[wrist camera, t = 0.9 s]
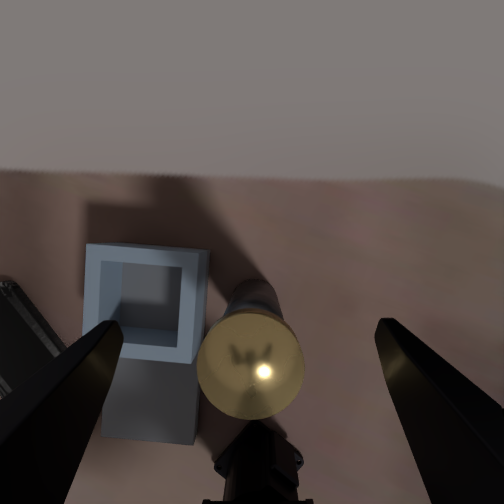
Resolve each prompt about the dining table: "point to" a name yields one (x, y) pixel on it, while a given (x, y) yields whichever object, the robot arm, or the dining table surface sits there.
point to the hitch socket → (150, 336)
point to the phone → (23, 338)
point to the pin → (251, 356)
